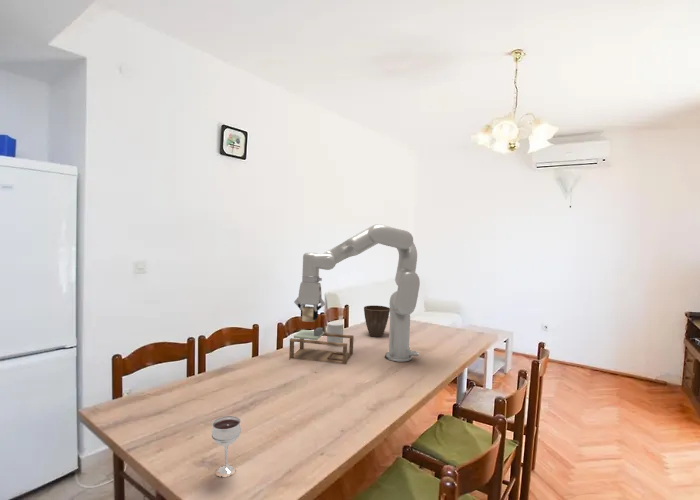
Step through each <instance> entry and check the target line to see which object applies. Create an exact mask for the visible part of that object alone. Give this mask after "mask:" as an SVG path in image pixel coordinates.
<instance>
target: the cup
mask: <svg viewBox="0 0 700 500" xmlns="http://www.w3.org/2000/svg"><path fill="white" fill-rule="evenodd" d="M326 333H331V334H342V335H344V322H341V321H330V322H327V327H326ZM326 342H335V343H344V338H342V337H331V336H326ZM328 346H329V347H333V346H332V345H328Z"/></svg>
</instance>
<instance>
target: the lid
mask: <svg viewBox="0 0 700 500" xmlns="http://www.w3.org/2000/svg"><path fill="white" fill-rule="evenodd" d="M324 333H325V331H324V330H323V327H316V328H315V329H313V330H310V329H309V330H308V329H300V330H299V331H298V332H297V333H296V334H294V335H293V338H294V339H304V340H315V341H319V340H320V339H321V337H323V336H322V335H323V334H324Z"/></svg>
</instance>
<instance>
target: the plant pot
mask: <svg viewBox="0 0 700 500" xmlns="http://www.w3.org/2000/svg"><path fill="white" fill-rule="evenodd" d="M363 313H364V321H365V323H366V324H365V325H366V329H367V332H368V335H369V336H370V337H373V338H382V337H383V335H384V334H385V333H384V332H385V331H386V328H387V324H388V321H389V318H390V306H389V307H388V306H384V305H374V304H373V305H365V306H364V307H363Z"/></svg>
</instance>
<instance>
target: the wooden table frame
mask: <svg viewBox="0 0 700 500" xmlns="http://www.w3.org/2000/svg"><path fill="white" fill-rule="evenodd" d="M324 336H325V337H327V336H331V337H342V338H343V339H349V349H348V343H345V342H343V343H335V342H327V341H323V340H309V339H299V338H294V337H292V338H290V339H289V352H288V353H289V355H288V357H289V361H290V360H291V359H294V360H295V359H296V360H305V361H315V362H324V363H333V364H343V365H347V363H348V362H349V360H350V359H351V357H352V356H353V354H354V338H355V337H354V335H351V334H343V335H342V334H331V333H327V332H324V334H323V335H322V336H321V337H324ZM295 343H299V349H298V350H297V351H296V352H295ZM305 343H306V344H312V345H313V344H314V345H322V346H323V345H324V346H329V345H332V346H331V347H342V351H333V350H323V349H313V348H305V346H304V345H305ZM348 350H349V351H348Z"/></svg>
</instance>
